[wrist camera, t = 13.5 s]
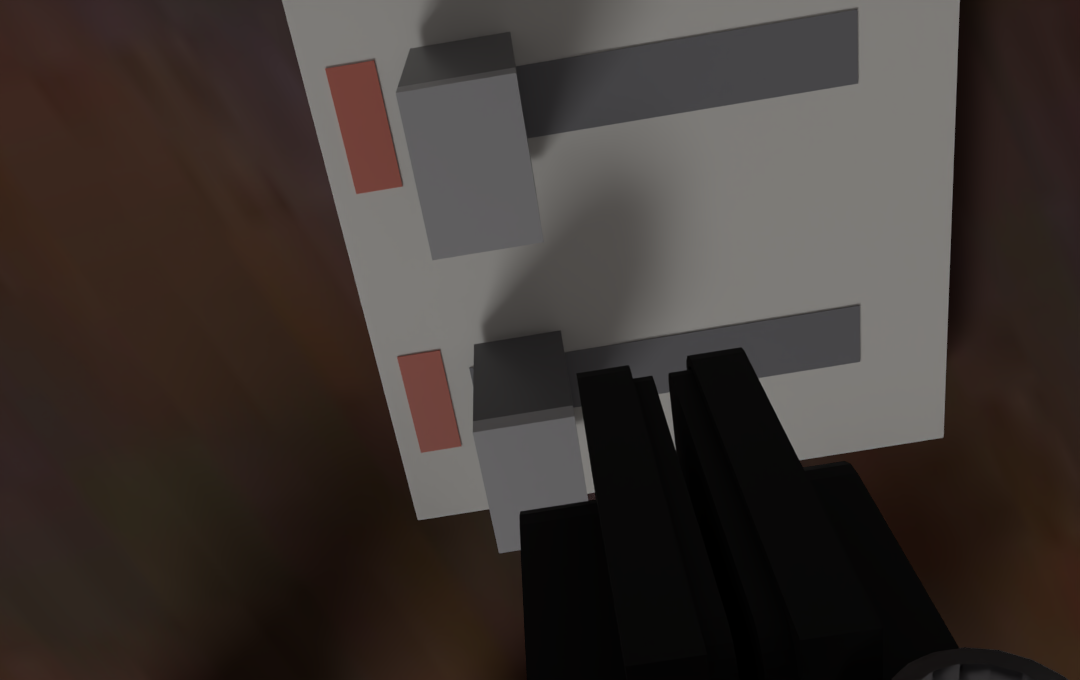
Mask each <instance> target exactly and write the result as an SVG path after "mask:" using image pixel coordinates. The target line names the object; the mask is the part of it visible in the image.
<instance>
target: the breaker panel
mask: <svg viewBox="0 0 1080 680" xmlns="http://www.w3.org/2000/svg"><path fill="white" fill-rule="evenodd" d="M282 2H283V6H284V10H285V13H286V17H287V21H288V25H289V29H290V33H291V36H292V40H293V44H294V48H295V52H296V56H297V59H298V63H299V67H300V71H301V75H302V79H303V82H304V86H305V90H306V94H307V98H308V102H309V105H310V109H311V113H312V117H313V121H314V125H315V128H316V132H317V136H318V140H319V144H320V148H321V151H322V155H323V159H324V163H325V167H326V170H327V174H328V178H329V182H330V186H331V190H332V193H333V197H334V201H335V205H336V209H337V213H338V216H339V220H340V224H341V228H342V232H343V236H344V239H345V243H346V247H347V251H348V255H349V259H350V262H351V266H352V270H353V274H354V278H355V282H356V285H357V289H358V293H359V297H360V301H361V305H362V308H363V312H364V316H365V320H366V324H367V328H368V331H369V335H370V339H371V343H372V347H373V350H374V354H375V358H376V362H377V366H378V370H379V373H380V377H381V381H382V385H383V389H384V393H385V396H386V400H387V404H388V408H389V412H390V416H391V419H392V423H393V427H394V431H395V435H396V439H397V442H398V446H399V450H400V454H401V458H402V462H403V465H404V469H405V473H406V477H407V481H408V485H409V488H410V492H411V496H412V500H413V504H414V508H415V511H416V515H417V519H418V520H423V519H430V518H436V517H443V516H449V515H455V514H462V513H468V512H474V511H481V510H487V509H489V505H488V500H487V496H486V491H485V487H484V482H483V478H482V473H481V468H480V464H479V459H478V455H477V450H476V446H475V441H474V436H473V373H474V344H479V343H485V342H491V341H498V340H504V339H510V338H516V337H522V336H529V335H535V334H541V333H547V332H553V331H560V330H561V335H562V341H563V347H564V353H565V359H566V366H567V372H568V378H569V384H570V390H571V396H572V403H573V409H574V415H575V421H576V427H577V433H578V440H579V446H580V452H581V458H582V465H583V471H584V477H585V484H586V490H587V494H589V493H595V490H594V484H593V478H592V471H591V465H590V458H589V452H588V446H587V439H586V433H585V427H584V420H583V414H582V407H581V401H580V395H579V388H578V382H577V375H576V373H581V372H587V371H593V370H600V369H606V368H612V367H619V366H625V365H629V366H630V369H631V373H632V377H633V378H640V377H646V376H653V379H654V382H655V385H656V388H657V391H658V395H659V398H660V401H661V404H662V408H663V411H664V414H665V417H666V421H667V424H668V427H669V430H670V434H671V437H672V440H673V443H674V447H675V450H676V446H675V437H674V428H673V419H672V410H671V401H670V392H669V381H668V375H669V373H671V372H678V371H684V370H687V368H686V359H687V356H688V355H695V354H701V353H707V352H714V351H720V350H726V349H733V348H739V347H742V348H743V350H744V351H745V353H746V355H747V357H748V359H749V361H750V363H751V365H752V367H753V369H754V371H755V373H756V375H757V377H758V379H759V381H760V383H761V385H762V387H763V389H764V391H765V393H766V395H767V397H768V399H769V401H770V403H771V405H772V407H773V409H774V411H775V413H776V415H777V417H778V419H779V421H780V423H781V425H782V427H783V429H784V431H785V433H786V435H787V437H788V439H789V441H790V443H791V445H792V447H793V449H794V451H795V453H796V455H797V457H798V459H799V460H804V459H811V458H817V457H823V456H830V455H836V454H842V453H849V452H855V451H861V450H868V449H874V448H881V447H887V446H893V445H900V444H906V443H912V442H919V441H925V440H931V439H938V438H943V436H944V410H945V383H946V356H947V329H948V302H949V276H950V249H951V222H952V195H953V168H954V142H955V115H956V88H957V61H958V34H959V7H960V0H282ZM505 32H510V33H511V39H512V46H513V52H514V58H515V64H516V70H517V76H518V82H519V89H520V95H521V101H522V107H523V113H524V119H525V125H526V132H527V138H528V144H529V150H530V156H531V162H532V168H533V175H534V181H535V188H536V194H537V201H538V207H539V214H540V220H541V227H542V234H543V240H544V242H542V243H535V244H529V245H523V246H517V247H511V248H505V249H499V250H493V251H487V252H480V253H474V254H468V255H462V256H456V257H450V258H444V259H438V260H432V256H431V251H430V247H429V242H428V238H427V233H426V229H425V224H424V220H423V215H422V210H421V206H420V201H419V197H418V192H417V188H416V183H415V179H414V174H413V170H412V165H411V160H410V156H409V151H408V147H407V142H406V138H405V133H404V129H403V124H402V120H401V115H400V111H399V106H398V101H397V97H396V90H397V87H398V84H399V81H400V78H401V75H402V72H403V69H404V66H405V63H406V60H407V57H408V53H409V50H410V48H416V47H422V46H428V45H434V44H440V43H446V42H452V41H458V40H464V39H469V38H475V37H481V36H487V35H493V34H499V33H505Z"/></svg>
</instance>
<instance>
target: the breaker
mask: <svg viewBox="0 0 1080 680" xmlns="http://www.w3.org/2000/svg"><path fill="white" fill-rule="evenodd" d="M473 436H474V441H475V446H476V450H477V455H478V459H479V464H480V468H481V473H482V478H483V482H484V487H485V491H486V496H487V500H488V505H489V510H490V514H491V519H492V523H493V528H494V532H495V537H496V542H497V546H498V551H499V553H504V552H511V551H517V550H521V545H520V520H519V515H520V511H526V510H532V509H539V508H545V507H552V506H558V505H565V504H571V503H578V502H584V501H588V496H587V490H586V484H585V477H584V471H583V465H582V458H581V452H580V446H579V440H578V433H577V427H576V421H575V415H574V409H573V403H572V396H571V390H570V384H569V378H568V372H567V366H566V359H565V353H564V347H563V341H562V335H561V330H560V331H553V332H547V333H541V334H535V335H529V336H522V337H516V338H510V339H504V340H498V341H491V342H485V343H479V344H474V373H473Z"/></svg>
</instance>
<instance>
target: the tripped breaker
mask: <svg viewBox="0 0 1080 680" xmlns="http://www.w3.org/2000/svg"><path fill="white" fill-rule="evenodd" d="M396 97H397V101H398V106H399V111H400V115H401V120H402V124H403V129H404V133H405V138H406V142H407V147H408V151H409V156H410V160H411V165H412V170H413V174H414V179H415V183H416V188H417V192H418V197H419V201H420V206H421V210H422V215H423V220H424V224H425V229H426V233H427V238H428V242H429V247H430V251H431V256H432V260H438V259H444V258H450V257H456V256H462V255H468V254H474V253H480V252H487V251H493V250H499V249H505V248H511V247H517V246H523V245H529V244H535V243H542V242H544V240H543V234H542V227H541V220H540V214H539V207H538V201H537V194H536V188H535V181H534V175H533V168H532V162H531V156H530V150H529V144H528V138H527V132H526V125H525V119H524V113H523V107H522V101H521V95H520V89H519V82H518V76H517V70H516V64H515V58H514V52H513V46H512V39H511V33H510V32H505V33H499V34H493V35H487V36H481V37H475V38H469V39H464V40H458V41H452V42H446V43H440V44H434V45H428V46H422V47H416V48H410V50H409V53H408V57H407V60H406V63H405V66H404V69H403V72H402V75H401V78H400V81H399V84H398V87H397V90H396Z"/></svg>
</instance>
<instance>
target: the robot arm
mask: <svg viewBox="0 0 1080 680" xmlns="http://www.w3.org/2000/svg"><path fill="white" fill-rule="evenodd" d="M686 368H687V370H684V371H678V372H671V373H669V375H668V381H669V392H670V401H671V410H672V419H673V428H674V437H675V446H676V450H675V447H674V443H673V440H672V437H671V434H670V430H669V427H668V424H667V421H666V417H665V414H664V411H663V408H662V404H661V401H660V398H659V395H658V391H657V388H656V385H655V382H654V379H653V376H646V377H640V378H633V377H632V373H631V369H630V366H629V365H625V366H619V367H612V368H606V369H600V370H593V371H587V372H581V373H576V375H577V382H578V388H579V395H580V401H581V407H582V414H583V420H584V427H585V433H586V439H587V446H588V452H589V458H590V465H591V471H592V478H593V484H594V490H595V497H596V500H591V501H584V502H578V503H571V504H565V505H558V506H552V507H545V508H539V509H532V510H526V511H520V515H519V520H520V545H521V566H522V587H523V608H524V628H525V649H526V670H527V680H1068V679H1067V678H1065V677H1064V676H1062V675H1060V674H1058V673H1057V672H1055V671H1053V670H1051V669H1049V668H1047V667H1045V666H1043V665H1041V664H1039V663H1037V662H1035V661H1034V660H1031V659H1027V658H1024V657H1021V656H1017V655H1014V654H1010V653H1007V652H1003V651H1000V650H990V649H978V648H966V647H965V648H959V647H958V645H957V644H956V642H955V640H954V638H953V637H952V635H951V633H950V632H949V630H948V628H947V626H946V625H945V623H944V621H943V620H942V618H941V616H940V614H939V613H938V611H937V609H936V608H935V606H934V604H933V602H932V601H931V599H930V597H929V595H928V594H927V592H926V590H925V589H924V587H923V585H922V583H921V582H920V580H919V578H918V577H917V575H916V573H915V571H914V570H913V568H912V566H911V564H910V563H909V561H908V559H907V558H906V556H905V554H904V552H903V551H902V549H901V547H900V546H899V544H898V542H897V540H896V539H895V537H894V535H893V533H892V532H891V530H890V528H889V527H888V525H887V523H886V521H885V520H884V518H883V516H882V515H881V513H880V511H879V509H878V508H877V506H876V504H875V502H874V501H873V499H872V497H871V496H870V494H869V492H868V490H867V489H866V487H865V485H864V484H863V482H862V480H861V478H860V477H859V475H858V473H857V472H856V470H855V469H854V468H853V466H852V465H851V464H850V463H848V462H845V461H843V462H836V463H830V464H823V465H817V466H810V467H804V468H803V467H802V465H801V463H800V461H799V459H798V457H797V455H796V453H795V451H794V449H793V447H792V445H791V443H790V441H789V439H788V437H787V435H786V433H785V431H784V429H783V427H782V425H781V423H780V421H779V419H778V417H777V415H776V413H775V411H774V409H773V407H772V405H771V403H770V401H769V399H768V397H767V395H766V393H765V391H764V389H763V387H762V385H761V383H760V381H759V379H758V377H757V375H756V373H755V371H754V369H753V367H752V365H751V363H750V361H749V359H748V357H747V355H746V353H745V351H744V350H743V348H742V347H739V348H733V349H726V350H720V351H714V352H707V353H701V354H695V355H688V356H687V359H686Z"/></svg>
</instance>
